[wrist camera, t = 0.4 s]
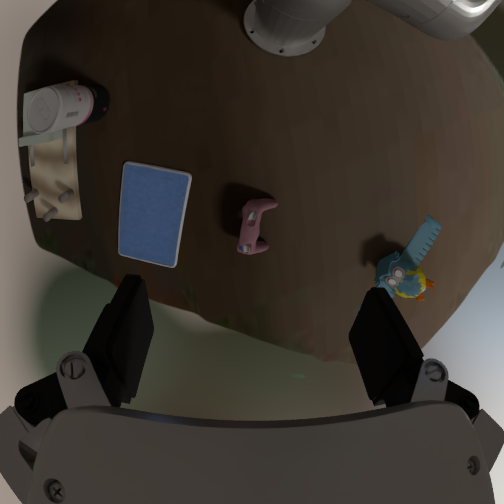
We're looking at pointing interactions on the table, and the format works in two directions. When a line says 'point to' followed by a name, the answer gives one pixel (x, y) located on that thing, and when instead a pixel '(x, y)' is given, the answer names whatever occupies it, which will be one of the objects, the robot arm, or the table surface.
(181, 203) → the tablet computer
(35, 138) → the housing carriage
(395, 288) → the owl figurine
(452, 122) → the table surface
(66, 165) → the base board
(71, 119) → the beverage can
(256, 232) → the video game controller
